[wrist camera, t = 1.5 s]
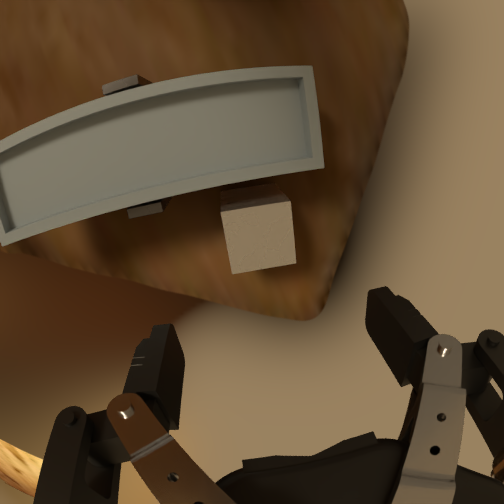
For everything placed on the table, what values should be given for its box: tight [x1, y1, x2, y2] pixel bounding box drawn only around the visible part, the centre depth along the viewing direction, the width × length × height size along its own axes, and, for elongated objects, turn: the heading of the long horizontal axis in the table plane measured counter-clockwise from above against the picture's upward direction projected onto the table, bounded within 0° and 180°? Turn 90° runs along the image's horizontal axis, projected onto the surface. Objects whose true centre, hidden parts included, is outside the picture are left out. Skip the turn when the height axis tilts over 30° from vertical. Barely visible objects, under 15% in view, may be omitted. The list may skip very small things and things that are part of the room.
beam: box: [0, 66, 324, 246], centre depth 21 cm, size 9×30×3 cm, turn 98°
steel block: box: [221, 183, 296, 274], centre depth 30 cm, size 6×6×8 cm
